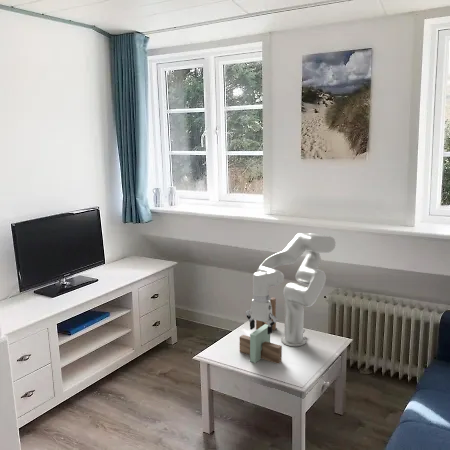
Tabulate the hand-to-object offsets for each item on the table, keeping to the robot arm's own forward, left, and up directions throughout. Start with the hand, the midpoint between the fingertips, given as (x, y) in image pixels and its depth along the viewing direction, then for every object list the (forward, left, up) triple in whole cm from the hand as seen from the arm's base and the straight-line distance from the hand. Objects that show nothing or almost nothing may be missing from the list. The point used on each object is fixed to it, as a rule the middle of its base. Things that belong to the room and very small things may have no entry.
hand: (261, 330), depth 230 cm
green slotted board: (0, 0, -13) cm, 13 cm away
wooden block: (-30, -14, -14) cm, 35 cm away
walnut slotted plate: (0, 0, -13) cm, 13 cm away
